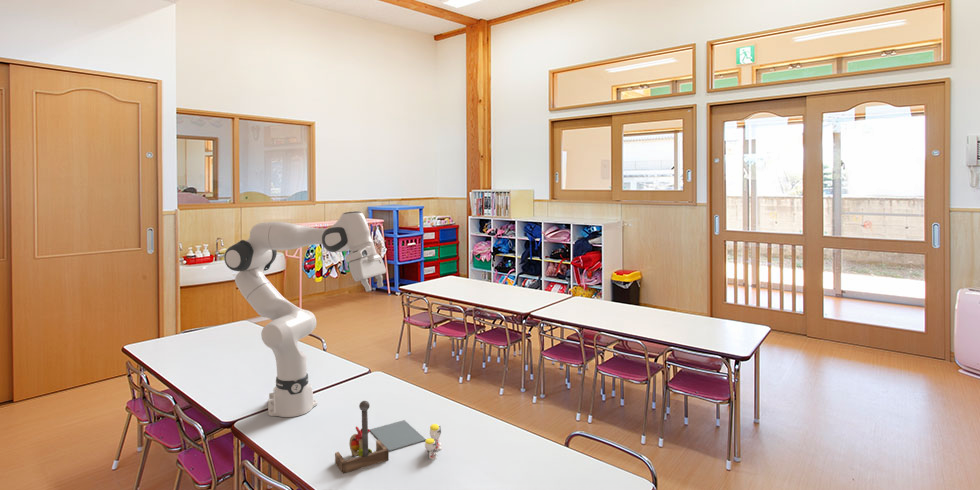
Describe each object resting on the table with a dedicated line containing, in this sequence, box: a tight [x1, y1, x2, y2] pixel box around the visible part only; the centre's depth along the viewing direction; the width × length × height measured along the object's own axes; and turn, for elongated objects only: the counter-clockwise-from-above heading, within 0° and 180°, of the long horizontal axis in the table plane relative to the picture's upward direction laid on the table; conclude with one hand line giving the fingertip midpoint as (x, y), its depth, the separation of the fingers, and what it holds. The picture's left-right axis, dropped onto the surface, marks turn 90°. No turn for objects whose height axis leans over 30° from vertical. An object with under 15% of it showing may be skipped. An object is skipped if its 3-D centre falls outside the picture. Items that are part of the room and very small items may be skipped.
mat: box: [369, 419, 427, 453], centre depth 193 cm, size 18×14×1 cm
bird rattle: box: [348, 426, 373, 457], centre depth 178 cm, size 6×11×9 cm
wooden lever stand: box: [334, 400, 389, 475], centre depth 174 cm, size 9×15×22 cm, turn 124°
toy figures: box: [424, 423, 442, 460], centre depth 182 cm, size 12×4×8 cm, turn 172°
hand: (375, 289), depth 196 cm, fingers open, 8 cm apart
